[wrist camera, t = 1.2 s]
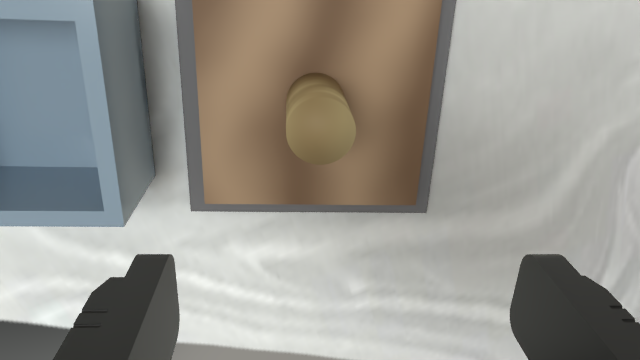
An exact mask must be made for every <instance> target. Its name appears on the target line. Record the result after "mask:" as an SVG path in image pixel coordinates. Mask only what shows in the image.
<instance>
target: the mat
mask: <svg viewBox="0 0 640 360" xmlns="http://www.w3.org/2000/svg"><path fill="white" fill-rule="evenodd" d="M455 4H456V0H442V6H441V14H440V22H439V29H438V37H437V45H436V53H435V60H434V68H433V76H432V83H431V91H430V99H429V107H428V114H427V122H426V130H425V138H424V145H423V153H422V161H421V169H420V176H419V184H418V192H417V200H416V205H297V204H205V200H204V184H203V168H202V152H201V137H200V121H199V105H198V89H197V73H196V57H195V41H194V25H193V9H192V0H175V7H176V21H177V34H178V47H179V60H180V73H181V87H182V100H183V113H184V126H185V139H186V153H187V166H188V179H189V192H190V205H191V211H228V212H388V213H426V211H427V204H428V197H429V190H430V183H431V176H432V168H433V161H434V154H435V147H436V140H437V133H438V125H439V118H440V111H441V104H442V97H443V90H444V82H445V75H446V68H447V61H448V54H449V47H450V40H451V32H452V25H453V18H454V11H455Z"/></svg>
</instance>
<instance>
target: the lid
mask: <svg viewBox="0 0 640 360" xmlns="http://www.w3.org/2000/svg"><path fill="white" fill-rule="evenodd" d="M441 6H442V0H192V9H193V25H194V41H195V57H196V73H197V89H198V105H199V121H200V137H201V152H202V168H203V184H204V200H205V204H297V205H416V200H417V192H418V184H419V176H420V169H421V161H422V153H423V145H424V138H425V130H426V122H427V114H428V107H429V99H430V91H431V83H432V76H433V68H434V60H435V53H436V45H437V37H438V29H439V22H440V14H441Z"/></svg>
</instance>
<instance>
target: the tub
mask: <svg viewBox="0 0 640 360" xmlns="http://www.w3.org/2000/svg"><path fill="white" fill-rule="evenodd" d="M154 177H155V168H154V159H153V149H152V140H151V130H150V121H149V111H148V102H147V92H146V83H145V73H144V63H143V54H142V44H141V35H140V25H139V16H138V6H137V0H0V226H73V227H124V226H125V225H126V223H127V221H128V220H129V218H130V216H131V215H132V213H133V211H134V210H135V208H136V206H137V205H138V203H139V201H140V200H141V198H142V196H143V195H144V193H145V192H146V190H147V188H148V187H149V185H150V183H151V182H152V180H153V178H154Z"/></svg>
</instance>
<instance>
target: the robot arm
mask: <svg viewBox="0 0 640 360" xmlns="http://www.w3.org/2000/svg"><path fill="white" fill-rule="evenodd" d="M510 323H511V328H512V331H513V334H514V336H515V338H516V339H517V341H518V343H519V344H520V346H521V348H522V350H523V351H524V353H525V355H526V356H527V358H528V360H640V324H639V323H638V322H635V319H634V317H633V316H632V315H631V314H630V313H629V312H628V311H627V310H626V309H622V305H621V304H620V303H619V302H618V301H617V300H616V299H615V298H614V297H613V296H612V294H611V293H610V292H609V291H608V290H607V289H605V288H604V287H602V286H600V285H599V284H597V283H596V282H594V281H592V280H591V279H589V278H588V277H586V276H581V275H580V274H579V273H578V272H577V270H576V269H575V268H574V267H573V266H572V265H571V264H570V263H569V262H568V261H567V260H566V258H564V257H563V256H562V255H559V254H529V255H526V256H525V257H524V258H523V259H522V262H521V265H520V269H519V274H518V278H517V282H516V286H515V291H514V295H513V299H512V303H511V308H510ZM178 331H179V303H178V293H177V282H176V272H175V263H174V258H173V256H172V255H171V254H138V255H136V256H135V258H134V260H133V262H132V264H131V266H130V268H129V270H128V272H127V274H126V276H125V277H110V278H109V279H108V280H107V281H105V282H104V283H103V284H102V285H100V286H99V287H98V288H97V289H95V290H94V291H93V292H92V293H91V295H90V297H89V298H88V300H87V302H86V304H85V305H84V307H83V309H82V313H80V314H79V316H78V317H77V319H76V321H75V323H74V327H73V328H71V329H70V331H69V333H68V335H67V336H66V338H65V340H64V342H63V343H62V345H61V347H60V349H59V350H58V352H57V354H56V355H55V357H54V359H53V360H171V359H172V355H173V352H174V348H175V345H176V341H177V337H178Z"/></svg>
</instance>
